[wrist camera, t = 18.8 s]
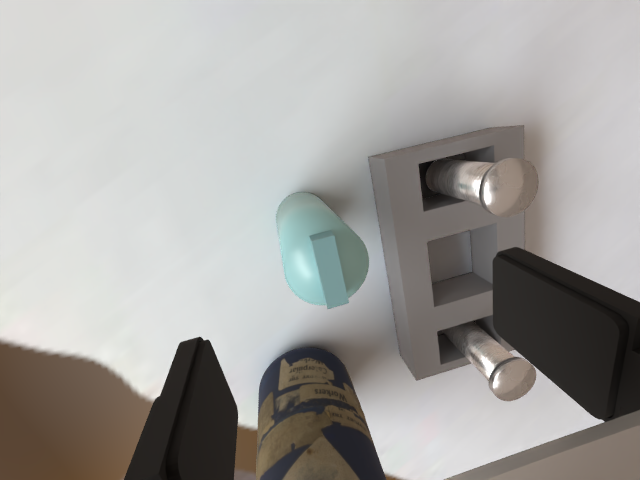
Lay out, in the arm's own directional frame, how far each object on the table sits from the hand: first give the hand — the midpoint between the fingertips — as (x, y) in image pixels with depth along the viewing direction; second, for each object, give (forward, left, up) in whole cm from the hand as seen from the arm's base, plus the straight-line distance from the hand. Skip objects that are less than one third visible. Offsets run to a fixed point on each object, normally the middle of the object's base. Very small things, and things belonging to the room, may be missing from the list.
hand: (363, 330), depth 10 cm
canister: (+18, -4, -20) cm, 27 cm away
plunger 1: (0, +13, -18) cm, 23 cm away
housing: (+8, +13, -20) cm, 25 cm away
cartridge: (+1, 0, -20) cm, 20 cm away
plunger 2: (+16, +13, -18) cm, 28 cm away
